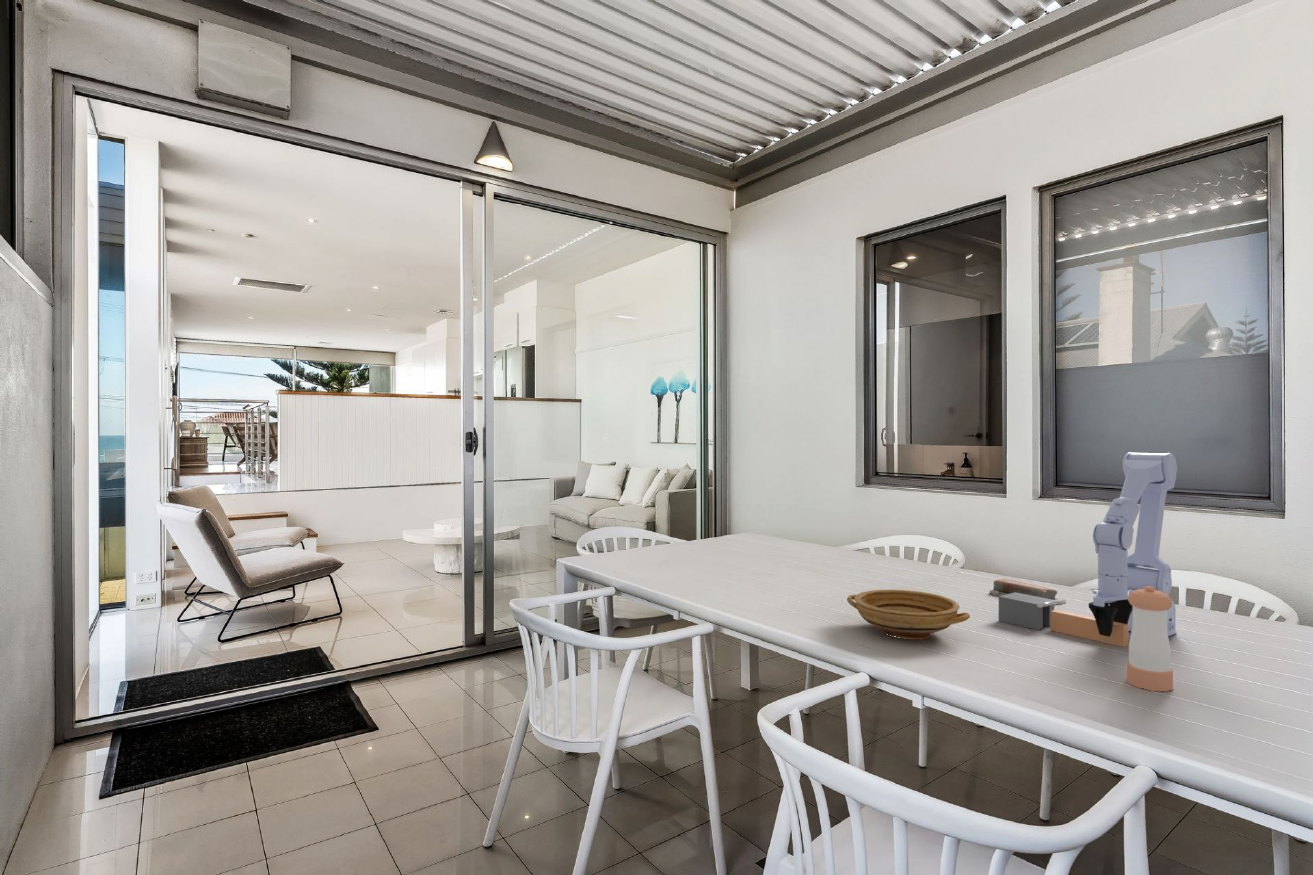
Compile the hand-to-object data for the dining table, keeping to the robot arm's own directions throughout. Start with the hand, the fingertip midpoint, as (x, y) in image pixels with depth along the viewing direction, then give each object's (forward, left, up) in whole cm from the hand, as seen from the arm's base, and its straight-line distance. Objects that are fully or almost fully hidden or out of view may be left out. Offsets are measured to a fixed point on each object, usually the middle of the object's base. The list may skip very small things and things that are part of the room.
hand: (1112, 632), depth 158 cm
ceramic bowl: (+32, +33, -3) cm, 46 cm away
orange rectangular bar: (+5, 0, -3) cm, 6 cm away
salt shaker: (-16, +23, -3) cm, 28 cm away
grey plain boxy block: (+20, 0, -2) cm, 20 cm away
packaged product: (+34, -26, -3) cm, 42 cm away
